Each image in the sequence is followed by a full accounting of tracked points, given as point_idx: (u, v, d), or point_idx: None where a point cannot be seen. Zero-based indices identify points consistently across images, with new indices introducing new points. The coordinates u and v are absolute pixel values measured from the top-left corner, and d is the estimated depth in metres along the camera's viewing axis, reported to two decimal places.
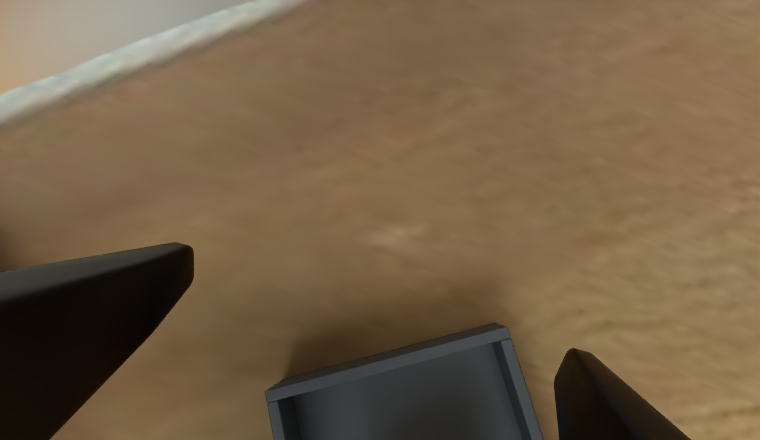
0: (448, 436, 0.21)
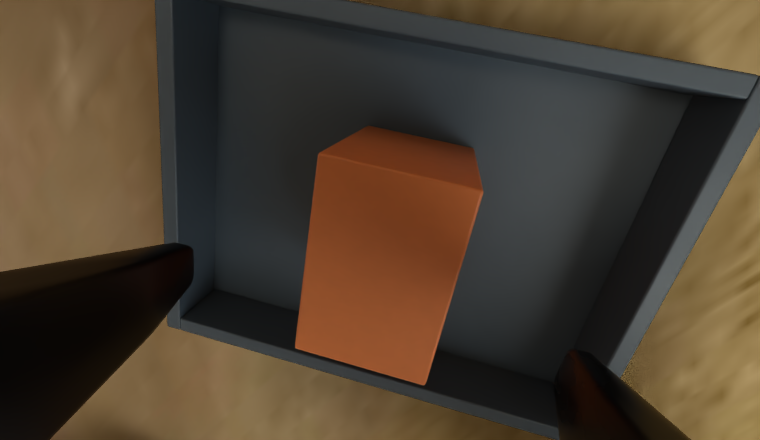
0: (327, 139, 0.15)
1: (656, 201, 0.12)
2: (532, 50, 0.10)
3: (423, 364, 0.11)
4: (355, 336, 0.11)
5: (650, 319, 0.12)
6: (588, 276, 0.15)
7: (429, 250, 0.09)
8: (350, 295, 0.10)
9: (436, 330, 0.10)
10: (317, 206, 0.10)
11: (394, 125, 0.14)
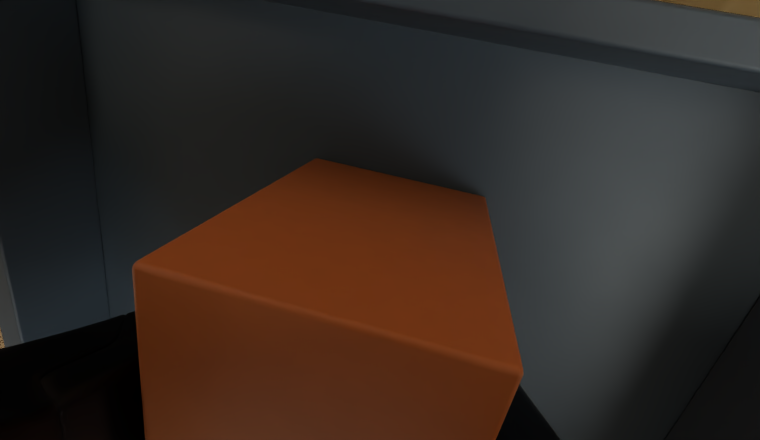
0: (256, 178, 0.09)
1: None
2: (613, 28, 0.05)
3: None
4: None
5: None
6: (662, 392, 0.09)
7: None
8: None
9: None
10: (150, 368, 0.04)
11: (357, 158, 0.09)
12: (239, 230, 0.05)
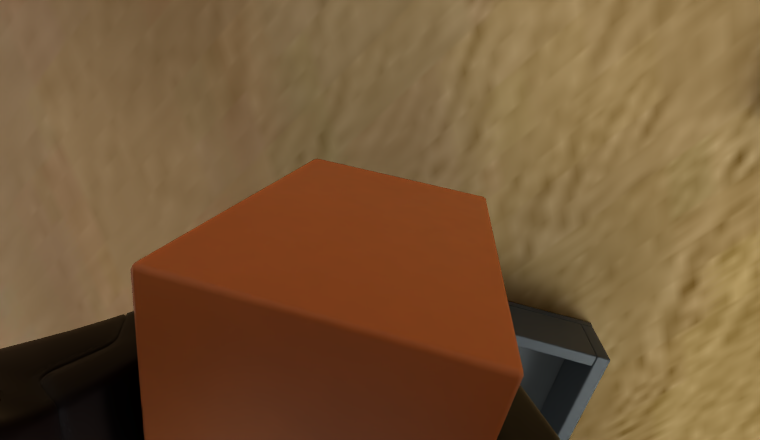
0: None
1: (557, 392, 0.20)
2: None
3: None
4: None
5: None
6: None
7: None
8: None
9: None
10: (149, 370, 0.04)
11: None
12: (238, 231, 0.05)
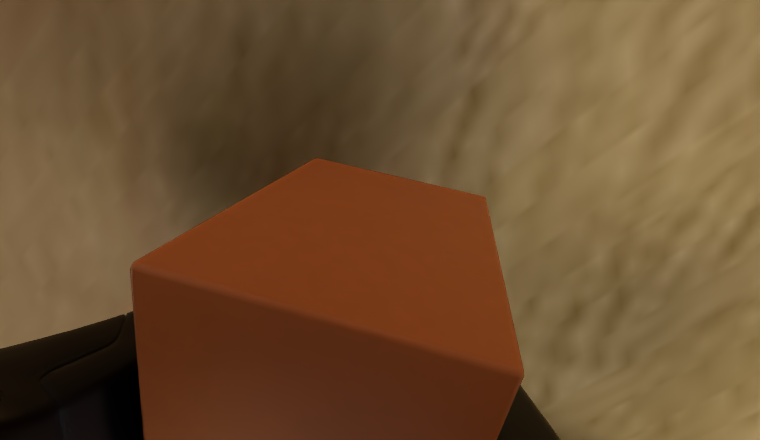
0: None
1: None
2: None
3: None
4: None
5: None
6: None
7: None
8: None
9: None
10: (148, 369, 0.04)
11: None
12: (238, 230, 0.05)
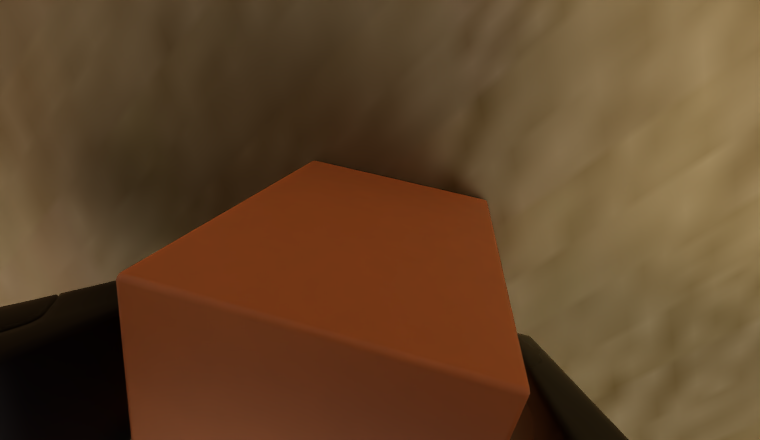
0: None
1: None
2: None
3: None
4: None
5: None
6: None
7: None
8: None
9: None
10: (136, 383, 0.04)
11: None
12: (231, 237, 0.05)
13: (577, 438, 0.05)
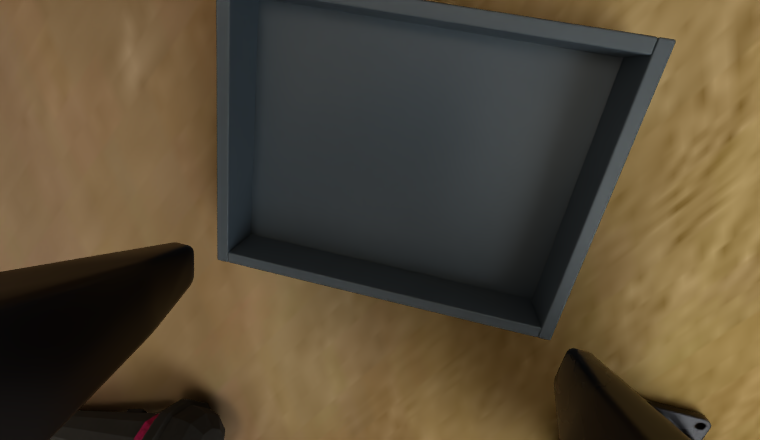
0: (344, 103, 0.18)
1: (599, 140, 0.16)
2: (497, 23, 0.14)
3: None
4: None
5: (595, 228, 0.16)
6: (552, 206, 0.18)
7: None
8: None
9: None
10: None
11: (397, 89, 0.18)
12: None
13: None
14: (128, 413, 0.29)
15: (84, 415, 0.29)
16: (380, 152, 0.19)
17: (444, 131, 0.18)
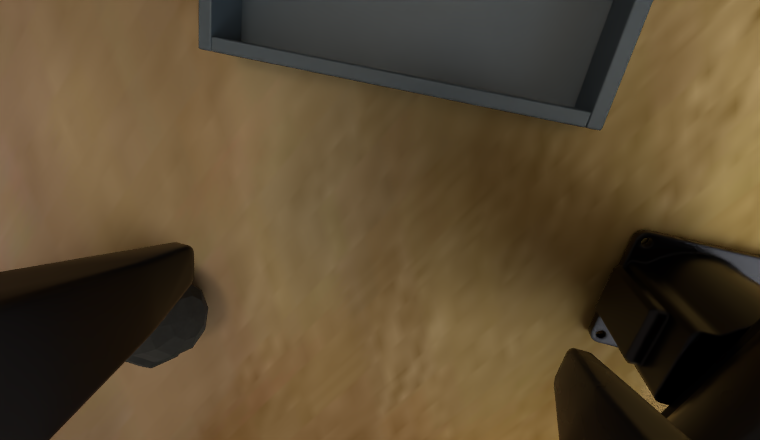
0: None
1: None
2: None
3: None
4: None
5: None
6: None
7: None
8: None
9: None
10: None
11: None
12: None
13: None
14: None
15: None
16: None
17: None
